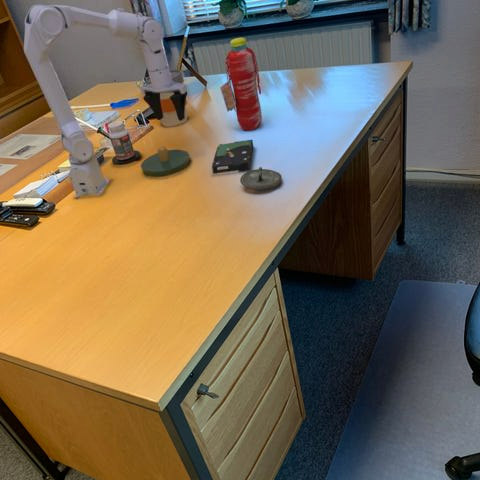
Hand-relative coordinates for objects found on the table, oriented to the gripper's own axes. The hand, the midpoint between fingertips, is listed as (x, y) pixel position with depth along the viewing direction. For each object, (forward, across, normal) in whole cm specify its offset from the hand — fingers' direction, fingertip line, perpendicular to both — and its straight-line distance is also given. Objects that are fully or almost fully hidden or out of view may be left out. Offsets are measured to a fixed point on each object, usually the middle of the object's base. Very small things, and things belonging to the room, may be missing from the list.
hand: (171, 119), depth 139 cm
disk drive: (+11, -20, +2) cm, 23 cm away
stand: (+10, +16, +6) cm, 20 cm away
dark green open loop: (+10, -2, +9) cm, 14 cm away
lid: (+11, -35, +14) cm, 39 cm away
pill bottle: (+9, +16, +6) cm, 19 cm away
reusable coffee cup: (+11, +18, -24) cm, 32 cm away
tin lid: (+9, -2, +9) cm, 13 cm away
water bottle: (+11, -12, -20) cm, 26 cm away
